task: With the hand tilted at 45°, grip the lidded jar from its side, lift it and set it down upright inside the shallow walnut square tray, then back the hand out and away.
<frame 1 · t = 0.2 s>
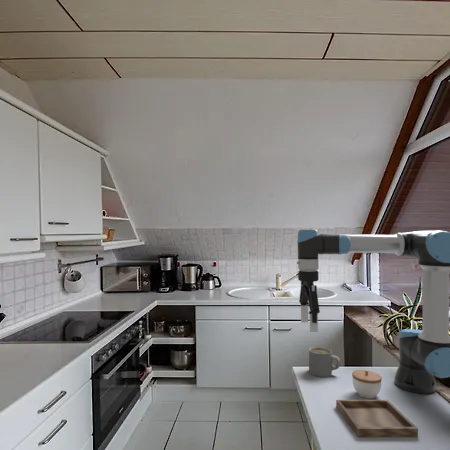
hand: (309, 326, 134), 28 cm above the countertop, tool pointing down, fingers open, 13 cm apart
coffee mug: (324, 373, 160), on the countertop
walnut square tray: (374, 420, 120), on the countertop
lidded jar: (366, 395, 139), on the countertop
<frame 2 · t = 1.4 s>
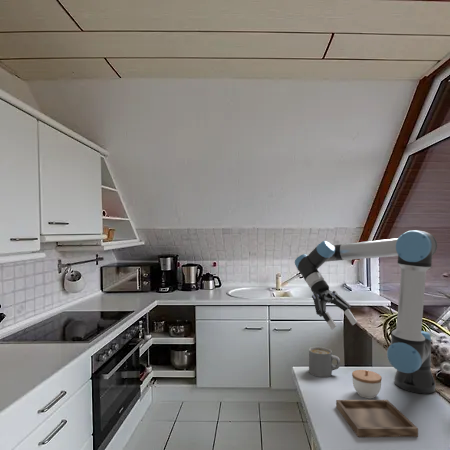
hand: (344, 325, 148), 25 cm above the countertop, tool tilted 45°, fingers open, 13 cm apart
nothing on the countertop moved.
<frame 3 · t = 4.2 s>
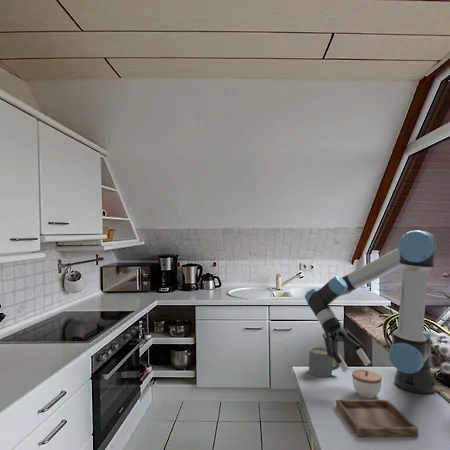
hand: (357, 367, 142), 9 cm above the countertop, tool tilted 45°, fingers open, 13 cm apart
nothing on the countertop moved.
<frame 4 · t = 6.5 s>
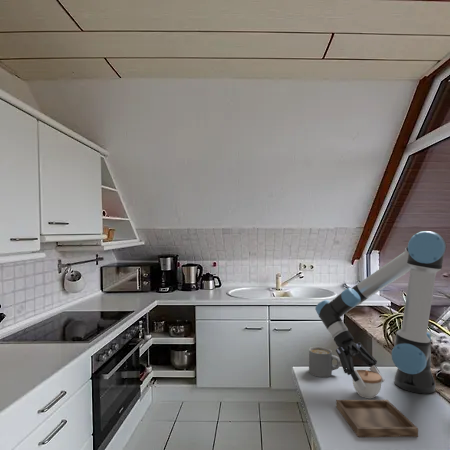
hand: (373, 385, 137), 5 cm above the countertop, tool tilted 45°, fingers closed on lidded jar, 11 cm apart
lidded jar: (366, 395, 139), on the countertop, touching gripper
everything else where it was.
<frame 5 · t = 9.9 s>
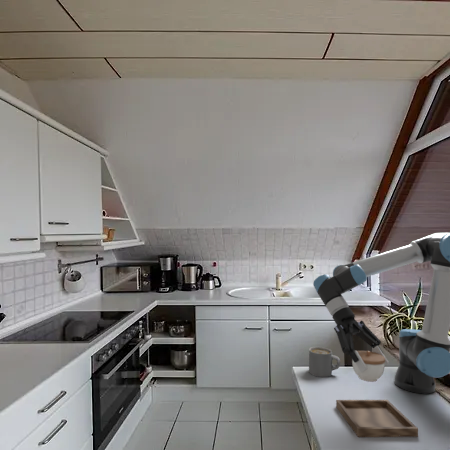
hand: (375, 367, 121), 18 cm above the countertop, tool tilted 45°, fingers closed on lidded jar, 11 cm apart
lidded jar: (367, 378, 123), point 13 cm above the countertop, touching gripper
everything else where it was.
when the fingers open (6 cm above the countertop, at t = 13.3 s): lidded jar stays where it is, resting on walnut square tray.
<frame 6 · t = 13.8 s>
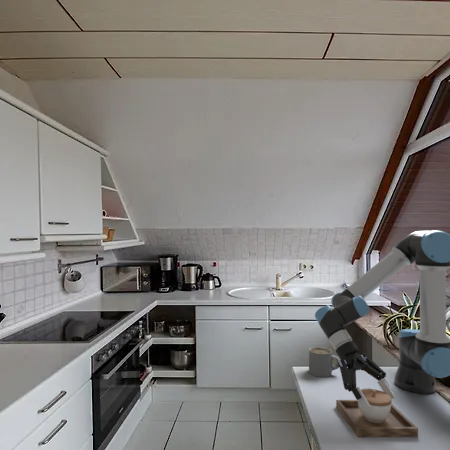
hand: (380, 403, 118), 7 cm above the countertop, tool tilted 45°, fingers open, 13 cm apart
lidded jar: (373, 419, 120), resting on walnut square tray
everything else where it was.
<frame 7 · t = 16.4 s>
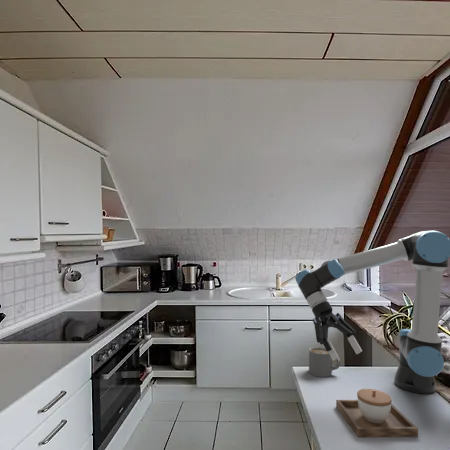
hand: (348, 355, 131), 18 cm above the countertop, tool tilted 40°, fingers open, 13 cm apart
nothing on the countertop moved.
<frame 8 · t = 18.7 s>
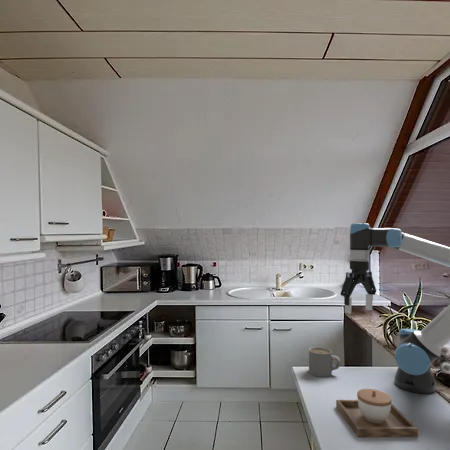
hand: (358, 311, 148), 31 cm above the countertop, tool pointing down, fingers open, 13 cm apart
nothing on the countertop moved.
at the end: lidded jar inside the target area on the walnut square tray (0.1 cm from its centre), point 0.4 cm above the walnut square tray's base; lidded jar tilted 0°; the gripper is holding nothing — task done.
